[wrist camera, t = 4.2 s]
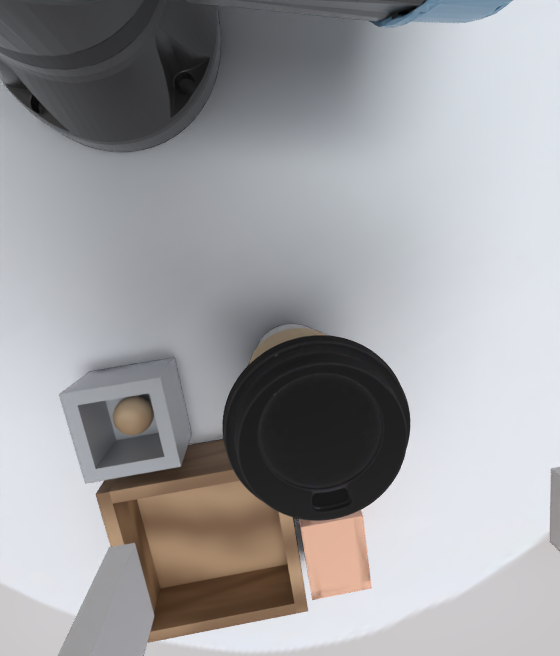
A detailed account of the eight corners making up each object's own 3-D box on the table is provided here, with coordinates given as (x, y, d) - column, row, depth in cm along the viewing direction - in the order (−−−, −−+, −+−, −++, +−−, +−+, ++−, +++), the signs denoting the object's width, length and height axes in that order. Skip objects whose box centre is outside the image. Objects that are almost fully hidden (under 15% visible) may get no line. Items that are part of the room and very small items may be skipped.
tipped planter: (293, 487, 34) (300, 527, 29) (347, 478, 34) (362, 515, 30) (304, 552, 36) (312, 599, 31) (355, 542, 36) (371, 588, 31)
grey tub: (89, 371, 31) (58, 394, 26) (174, 357, 31) (160, 377, 26) (110, 448, 32) (85, 483, 27) (191, 434, 32) (181, 466, 27)
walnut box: (119, 457, 32) (95, 494, 27) (278, 429, 33) (283, 460, 28) (154, 589, 35) (139, 644, 30) (300, 561, 36) (308, 611, 31)
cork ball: (116, 393, 30) (102, 408, 27) (153, 387, 30) (143, 401, 28) (125, 427, 31) (112, 445, 28) (161, 421, 31) (152, 438, 28)
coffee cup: (278, 428, 33) (300, 570, 18) (211, 345, 31) (175, 430, 16) (365, 365, 32) (461, 460, 18) (303, 277, 30) (351, 301, 16)
